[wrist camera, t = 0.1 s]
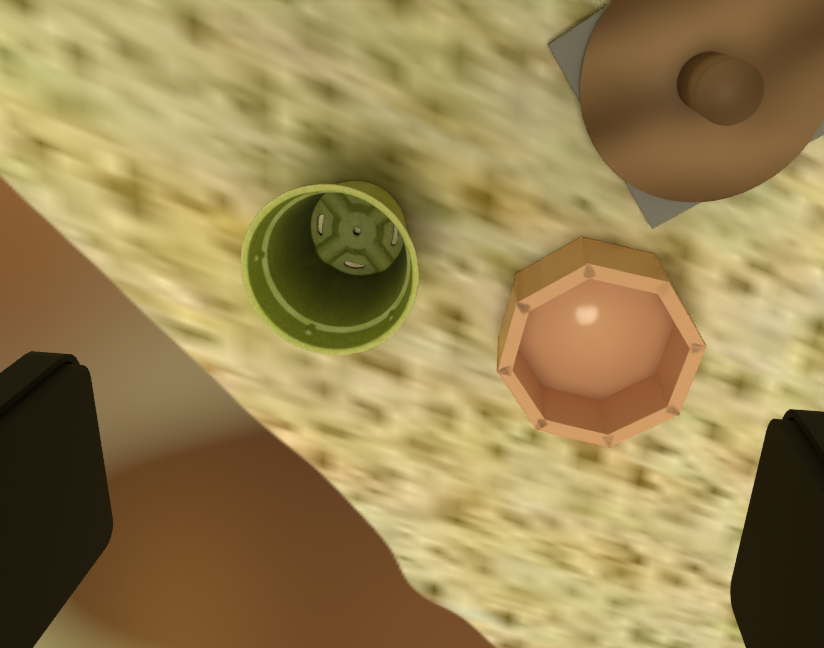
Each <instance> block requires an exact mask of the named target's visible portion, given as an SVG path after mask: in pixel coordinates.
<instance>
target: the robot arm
mask: <svg viewBox="0 0 824 648" xmlns="http://www.w3.org/2000/svg"><path fill="white" fill-rule="evenodd" d="M112 529H113V517H112V511H111V505H110V498H109V491H108V486H107V478H106V472H105V466H104V459H103V453H102V447H101V440H100V434H99V427H98V420H97V414H96V407H95V401H94V394H93V389H92V382H91V376H90V372H89V370H88V368H87V367H86V366H84V365H80V364H79V362H78V360H77V358H76V357H75V356H73V355H72V354H60V353H46V352H34V351H31V352H29V353H27V354H25V355H24V356H22V357H21V358H20V359H18V360H17V361H16V362H14V363H13V364H12V365H10V366H9V367H8V368H6V369H5V370H4V371H3V372H1V373H0V648H33V647H34V645H35V644H36V643H37V641H38V640H39V638H40V637H41V636H42V634H43V633H44V632H45V630H46V629H47V628H48V626H49V625H50V624H51V622H52V621H53V619H54V618H55V617H56V615H57V614H58V613H59V611H60V610H61V608H62V607H63V606H64V604H65V603H66V602H67V600H68V599H69V597H70V596H71V594H72V593H73V592H74V591H75V589H76V588H77V586H78V585H79V584H80V582H81V581H82V580H83V578H84V577H85V576H86V574H87V573H88V571H89V570H90V569H91V567H92V566H93V565H94V563H95V562H96V560H97V559H98V558H99V556H100V555H101V554H102V552H103V551H104V550H105V548H106V547H107V545H108V543H109V540H110V538H111V534H112ZM730 594H731V604H732V609H733V612H734V615H735V618H736V621H737V624H738V626H739V629H740V632H741V635H742V638H743V640H744V643H745V646H746V648H824V412H820V411H807V410H794V409H790V410H788V411H787V412H786V413H785V415H784V416H783V419H772V420H771V421H770V423H769V425H768V427H767V431H766V435H765V439H764V443H763V448H762V452H761V456H760V460H759V465H758V469H757V473H756V477H755V482H754V486H753V490H752V494H751V499H750V503H749V507H748V512H747V516H746V520H745V524H744V529H743V533H742V537H741V541H740V546H739V550H738V554H737V558H736V563H735V567H734V571H733V575H732V580H731V589H730Z"/></svg>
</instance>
